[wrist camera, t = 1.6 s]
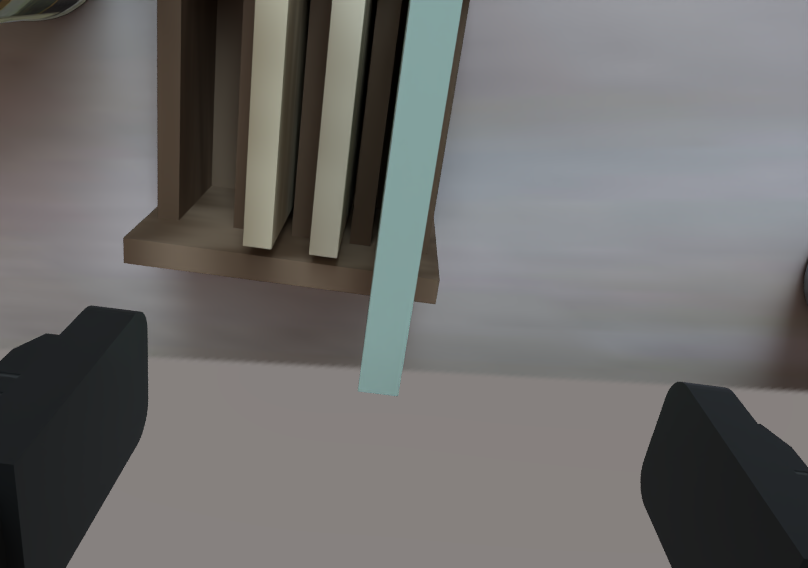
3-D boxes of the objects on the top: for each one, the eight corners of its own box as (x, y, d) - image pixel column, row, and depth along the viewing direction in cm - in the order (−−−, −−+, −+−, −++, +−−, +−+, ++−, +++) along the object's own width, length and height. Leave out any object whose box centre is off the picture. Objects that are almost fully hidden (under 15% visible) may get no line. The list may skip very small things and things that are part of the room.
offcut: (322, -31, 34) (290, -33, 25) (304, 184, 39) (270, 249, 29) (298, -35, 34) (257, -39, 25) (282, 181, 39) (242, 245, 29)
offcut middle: (379, -22, 34) (367, -21, 25) (354, 191, 39) (336, 258, 30) (355, -26, 34) (334, -26, 25) (332, 188, 39) (308, 254, 30)
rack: (476, -52, 35) (500, -61, 26) (429, 230, 41) (435, 304, 32) (194, -96, 34) (115, -122, 25) (189, 197, 40) (124, 263, 31)
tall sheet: (435, -14, 34) (462, -1, 16) (404, 198, 39) (397, 396, 21) (411, -17, 34) (411, -8, 16) (382, 195, 39) (358, 391, 21)
